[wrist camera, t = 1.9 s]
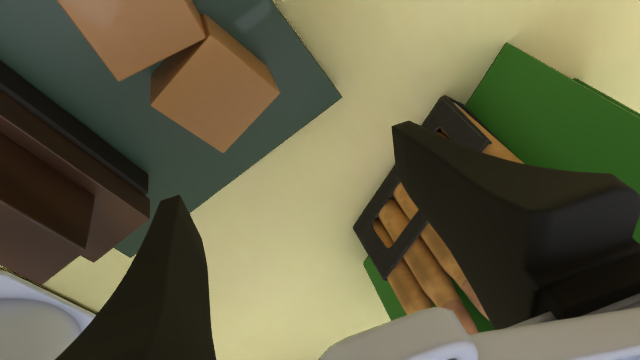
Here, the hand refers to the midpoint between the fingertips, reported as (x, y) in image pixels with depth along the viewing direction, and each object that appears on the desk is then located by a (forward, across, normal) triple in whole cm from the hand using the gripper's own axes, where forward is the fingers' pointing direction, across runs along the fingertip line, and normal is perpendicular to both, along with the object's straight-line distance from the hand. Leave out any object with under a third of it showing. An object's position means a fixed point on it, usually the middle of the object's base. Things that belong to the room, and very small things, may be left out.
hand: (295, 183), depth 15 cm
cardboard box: (+9, +2, -1) cm, 9 cm away
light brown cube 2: (+9, +4, -5) cm, 11 cm away
